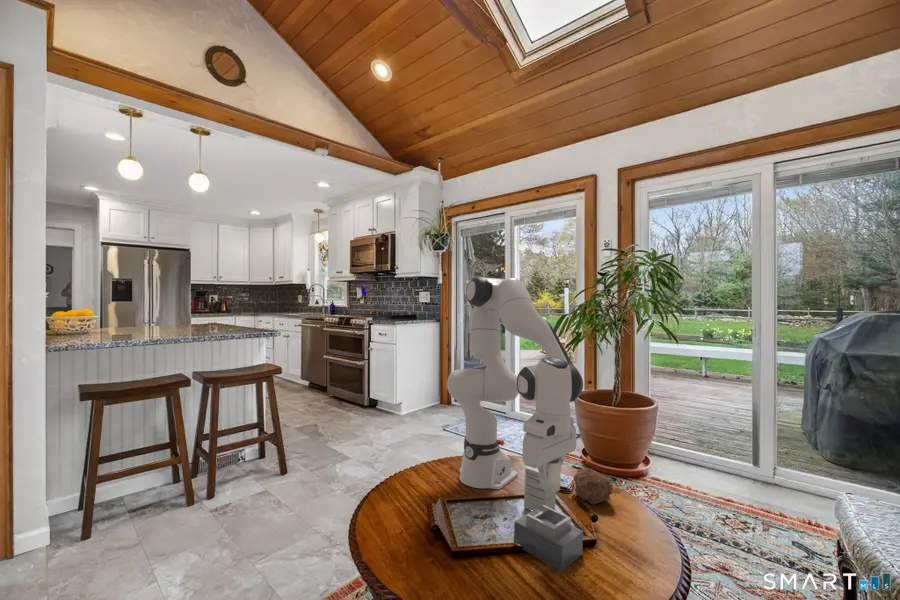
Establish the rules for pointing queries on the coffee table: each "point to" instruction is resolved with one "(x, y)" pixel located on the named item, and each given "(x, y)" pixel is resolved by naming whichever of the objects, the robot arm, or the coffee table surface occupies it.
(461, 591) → the coffee table surface
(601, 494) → the decorative rock
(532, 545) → the grey socket block
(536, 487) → the supplement box
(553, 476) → the cream cylinder
